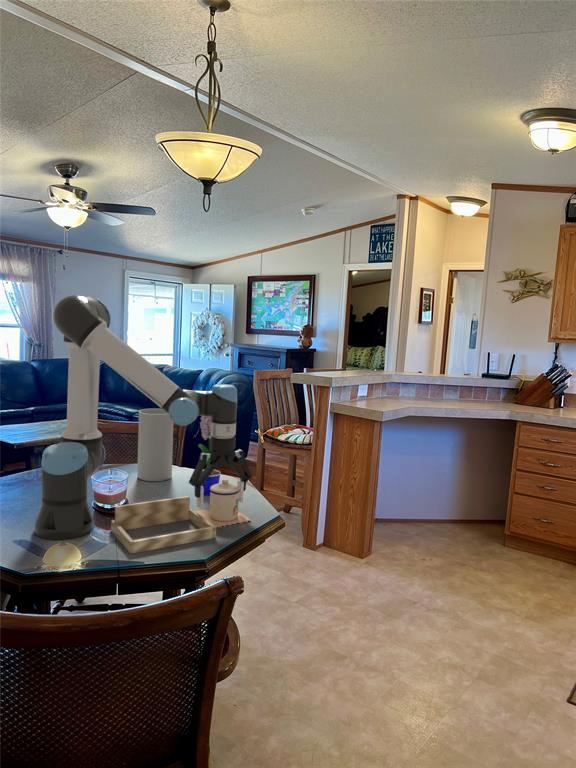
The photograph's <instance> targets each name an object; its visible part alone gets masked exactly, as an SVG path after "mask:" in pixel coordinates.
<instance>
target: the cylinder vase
mask: <svg viewBox="0 0 576 768" xmlns="http://www.w3.org/2000/svg"><path fill="white" fill-rule="evenodd" d="M137 431H138V434H137V435H138V436H137V437H138V439H137V440H138V441H137V478H138V479H140V480H141V481H145V482H152V483H155V482H163V481H167V480H170V479H171V478H172V475H173V452H174V451H173V448H174V447H173V446H174V445H173V444H174V422H173V421H172V420H171V419H170V416H169V414H168V413H167V412H165V411H164V410H163V409H162V408H144V409H143V408H142V409H140V410H138V430H137Z"/></svg>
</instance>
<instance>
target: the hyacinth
mask: <svg viewBox="0 0 576 768" xmlns="http://www.w3.org/2000/svg"><path fill="white" fill-rule="evenodd" d="M199 419H200V420H201V421H199V425H200V426H199V428H200V429H201V430H200V431H201V437H202V439H203V440H205V441H206V440H208V448H207V447H206V446H205V445H203V444H201V443H199V444H198V445H197V447H198V448H199V449H200V450H201V453H204V454H209V453H210V438H211V436H212V435H211V416H201V417H200V418H199ZM209 462H210V458H208V461H206V464H205V465H207V464H208V463H209ZM203 471H204V469H203V470H202V472H203ZM221 474H222V472H221V471H220V470H217V469H214V470H213V471H212V473H211V474H210V475H209V477H208V478H207V479H206V480H205V482H204V483H203V484H202V487H204V491H203V496H210V487H211V486H212V485H215V484H218V483H220V479H221Z"/></svg>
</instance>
